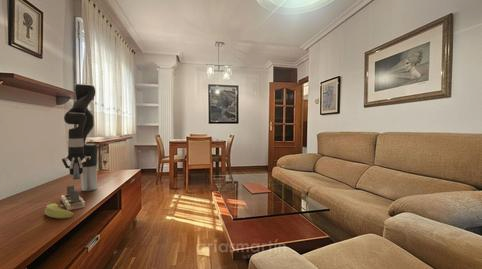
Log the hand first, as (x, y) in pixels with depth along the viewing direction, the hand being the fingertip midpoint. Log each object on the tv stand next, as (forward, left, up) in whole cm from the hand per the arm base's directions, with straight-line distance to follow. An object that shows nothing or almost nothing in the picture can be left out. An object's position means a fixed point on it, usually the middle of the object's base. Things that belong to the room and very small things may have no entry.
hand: (76, 174), depth 131 cm
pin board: (0, -2, -17) cm, 17 cm away
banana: (+13, -9, -18) cm, 24 cm away
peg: (0, 0, -3) cm, 3 cm away
